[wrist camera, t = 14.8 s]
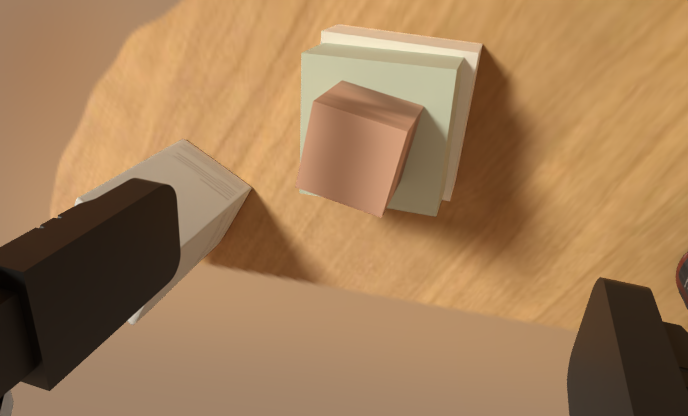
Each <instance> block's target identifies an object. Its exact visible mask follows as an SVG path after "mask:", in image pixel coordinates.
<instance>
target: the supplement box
mask: <svg viewBox="0 0 688 416" xmlns="http://www.w3.org/2000/svg"><path fill="white" fill-rule="evenodd" d="M132 178H140V179H145V180H150V181H154V182H159V183H164V184H168V185H171V186H172V187H173V188H174V190H175V192H176V196H177V206H178V220H179V234H180V249H181V257H180V263H179V266H178V269H177V272H176V274H175V275H174V277H173V279H172V280H171V281H170V282H169V283H168V284H167V285H166V286H165V287H164V288H163V289H162V290H160V291H159V292H158V293H157V294H156V295H155V296H154V297H153V298H152V299H151V300H149V301H148V302H147V303H146V304H145V305H144V306H143V307H142V308H141V309H140V310H138V311H137V312H136V313H135V314H134V315H133V316H132V317H131V318H130V319H129V320H127V322H129V323H130V324H131V325H134V324H135V323H136V322H137V321H138V320H140V319H141V318H142V317H143V316H144V315H145V314H146V313H147V312H148V311H149V310H151V309H152V308H153V307H154V306H155V305H156V304H157V303H158V302H159V301H160V300H161V299H162V298H163V297H164V296H165V295H166V294H167V293H168V292H169V291H170V290H171V289H172V288H173V287H174V286H175V285H176V284H177V283H178V282H179V281H180V280H181V279H182V278H183V277H185V276H186V274H188V273H189V272H190V271H191V270H192V269H193V268H194V267H195V266H196V265H197V264H198V263H199V262H200V261H201V260H202V259H203V258H204V257H205V256H206V255H207V254H208V253H209V252H211V251H212V250H213V249H214V248H215V247H216V246H217V245H218V244H219V243H220V241H221V240H222V238H223V237H224V235H225V233H226V232H227V230H228V228H229V227H230V225H231V223H232V222H233V220H234V218H235V216H236V215H237V213H238V211H239V210H240V208H241V206H242V204H243V203H244V201H245V199H246V197H247V196H248V194H249V192H250V191H251V189H252V188H251V187H250V186H249V185H248V184H246V183H245V182H244V181H242V180H241V179H240V178H238V177H237V176H236V175H234V174H233V173H231V172H230V171H229V170H227V169H226V168H225V167H223V166H222V165H220V164H219V163H218V162H216V161H215V160H214V159H212V158H211V157H209V156H208V155H207V154H205V153H204V152H203V151H201V150H200V149H198V148H197V147H196V146H194V145H193V144H191V143H190V142H188V141H187V140H185V139H181V140H179V141H178V142H176V143H174V144H172V145H170V146H169V147H167V148H165V149H163V150H162V151H160V152H158V153H156V154H155V155H153V156H151V157H149V158H148V159H146V160H144V161H142V162H141V163H139V164H137V165H135V166H133V167H132V168H130V169H128V170H127V171H125V172H123V173H121V174H119V175H118V176H116V177H114V178H112V179H111V180H109V181H107V182H105V183H104V184H102V185H100V186H98V187H96V188H95V189H93V190H91V191H89V192H87V193H86V194H84V195H82V196H80V197H78V198H77V200H76V202H75V205H74V206H76V205H78V204H80V203H83V202H86V201H89V200H93V199H96V198H97V197H99V196H101V195H103V194H104V193H106V192H108V191H110V190H112V189H113V188H115V187H117V186H119V185H120V184H122V183H124V182H126V181H128V180H129V179H132Z"/></svg>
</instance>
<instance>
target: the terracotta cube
mask: <svg viewBox="0 0 688 416" xmlns="http://www.w3.org/2000/svg"><path fill="white" fill-rule="evenodd" d="M423 108H424V106H422V105H419V104H416V103H413V102H410V101H406V100H403V99H400V98H397V97H394V96H391V95H387V94H384V93H381V92H378V91H375V90H372V89H368V88H365V87H362V86H359V85H356V84H353V83H350V82H346V81H343V80H342V81H340V82H339V83H337V84H336V85H335V86H333V87H332V88H330V89H329V90H328V91H326V92H325V93H324V94H322V95H321V96H319V97H318V98H317V99H315V100H314V101H313V104H312V109H311V114H310V119H309V123H308V128H307V133H306V138H305V143H304V148H303V152H302V157H301V162H300V167H299V172H298V176H297V181H296V186H295V187H296V188H299V189H302V190H304V191H307V192H310V193H313V194H316V195H319V196H321V197H324V198H327V199H330V200H333V201H335V202H338V203H341V204H344V205H347V206H350V207H352V208H355V209H358V210H361V211H364V212H367V213H369V214H372V215H375V216H378V217H381V218H382V216H383V214H384V212H385V210H386V208H387V206H388V204H389V202H390V201H391V199H392V197H393V195H394V193H395V191H396V189H397V187H398V186H399V184H400V181H401V178H402V175H403V172H404V168H405V165H406V162H407V159H408V156H409V152H410V149H411V146H412V143H413V140H414V136H415V133H416V130H417V127H418V124H419V120H420V117H421V114H422V111H423Z"/></svg>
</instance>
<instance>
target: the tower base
mask: <svg viewBox="0 0 688 416" xmlns="http://www.w3.org/2000/svg"><path fill="white" fill-rule="evenodd" d="M322 43H333V44H342V45H352V46H362V47H371V48H381V49H391V50H400V51H410V52H420V53H429V54H439V55H449V56H458V57H464V61H463V68H462V74H461V81H460V88H459V95H458V102H457V109H456V116H455V123H454V130H453V137H452V143H451V150H450V157H449V164H448V171H447V178H446V185H445V192H444V195H443V198H442V200H445V201H450V199H451V196H452V192H453V189H454V186H455V182H456V177H457V172H458V167H459V162H460V157H461V152H462V147H463V142H464V137H465V132H466V127H467V121H468V116H469V111H470V106H471V101H472V96H473V91H474V86H475V81H476V76H477V71H478V66H479V61H480V55H481V50H482V45H483V44H481V43H473V42H466V41H459V40H451V39H444V38H437V37H429V36H422V35H415V34H407V33H400V32H392V31H385V30H378V29H370V28H363V27H356V26H348V25H341V24H337V25H335V26H332V27H330V28H327V29H325V30H322V31H321V44H322Z"/></svg>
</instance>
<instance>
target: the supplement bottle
mask: <svg viewBox="0 0 688 416" xmlns="http://www.w3.org/2000/svg"><path fill="white" fill-rule="evenodd" d="M676 284H677V287H678V290H679V293H680V295H681V297H682V299H683V301H684V303H685V305H686V307H687V309H688V252H687V253H686V254H685V255H684V256H683V257H682V259H681V260H680V262H679V264H678V267H677V271H676Z"/></svg>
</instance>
